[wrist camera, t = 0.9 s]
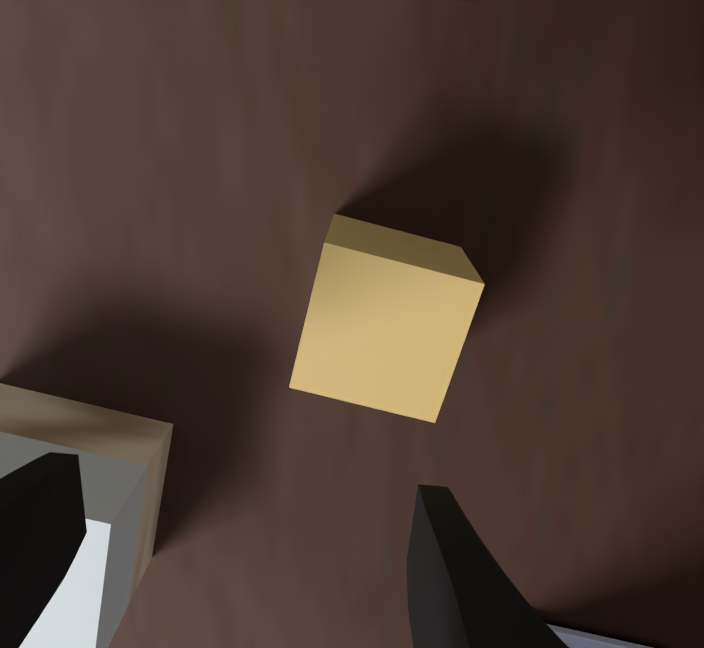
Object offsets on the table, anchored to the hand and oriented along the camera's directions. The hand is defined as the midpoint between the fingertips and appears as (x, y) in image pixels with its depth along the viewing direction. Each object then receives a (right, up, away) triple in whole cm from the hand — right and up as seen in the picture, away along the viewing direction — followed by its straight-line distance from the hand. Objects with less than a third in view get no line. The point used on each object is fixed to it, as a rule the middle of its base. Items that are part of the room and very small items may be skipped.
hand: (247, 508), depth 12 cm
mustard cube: (+3, +5, +8) cm, 10 cm away
